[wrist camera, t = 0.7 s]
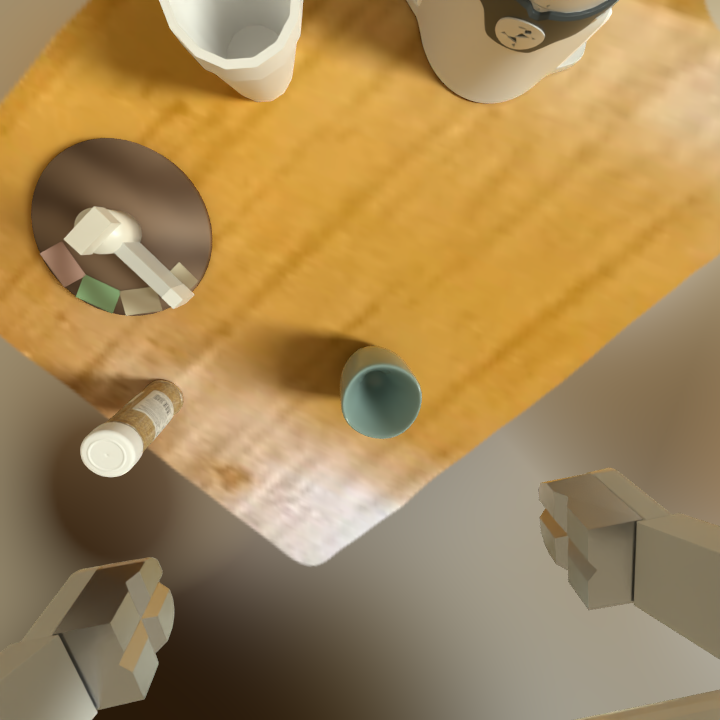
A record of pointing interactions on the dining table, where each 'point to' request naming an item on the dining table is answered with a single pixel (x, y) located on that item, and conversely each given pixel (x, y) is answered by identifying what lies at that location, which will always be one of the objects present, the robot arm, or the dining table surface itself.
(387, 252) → the dining table surface
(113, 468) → the sprinkles bottle
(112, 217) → the cream toy mallet
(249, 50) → the foam cup
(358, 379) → the cup
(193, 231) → the dial
